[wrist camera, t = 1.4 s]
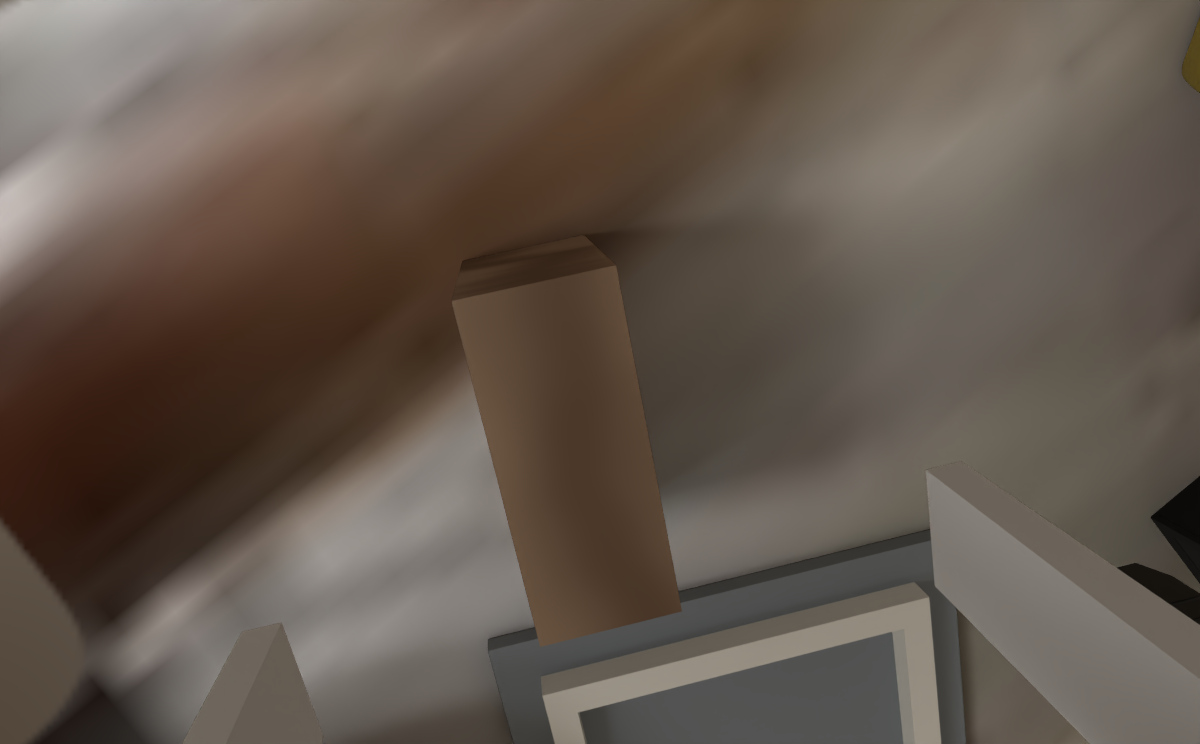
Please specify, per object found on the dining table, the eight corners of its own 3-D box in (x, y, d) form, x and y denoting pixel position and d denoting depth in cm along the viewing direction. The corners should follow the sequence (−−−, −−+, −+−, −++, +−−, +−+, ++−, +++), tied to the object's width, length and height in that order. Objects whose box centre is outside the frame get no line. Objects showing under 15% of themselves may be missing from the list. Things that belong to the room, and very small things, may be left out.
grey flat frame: (557, 890, 37) (561, 930, 35) (488, 639, 33) (487, 669, 31) (960, 780, 38) (984, 813, 36) (941, 526, 34) (967, 549, 32)
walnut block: (528, 527, 32) (540, 647, 24) (462, 260, 29) (451, 300, 21) (637, 501, 32) (681, 611, 24) (583, 234, 29) (615, 265, 21)
